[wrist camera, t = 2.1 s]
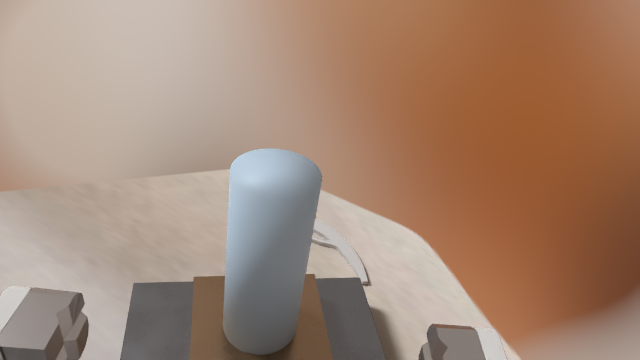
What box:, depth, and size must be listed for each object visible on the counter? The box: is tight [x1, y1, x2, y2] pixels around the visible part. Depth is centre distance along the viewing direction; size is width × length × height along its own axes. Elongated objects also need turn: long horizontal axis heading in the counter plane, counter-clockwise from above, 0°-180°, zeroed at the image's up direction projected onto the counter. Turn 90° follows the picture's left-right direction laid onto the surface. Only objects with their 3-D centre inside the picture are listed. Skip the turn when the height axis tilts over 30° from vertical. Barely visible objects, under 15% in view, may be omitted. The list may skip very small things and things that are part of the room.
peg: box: [223, 149, 322, 355], centre depth 27 cm, size 4×4×11 cm
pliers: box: [311, 218, 368, 285], centre depth 45 cm, size 10×2×15 cm
